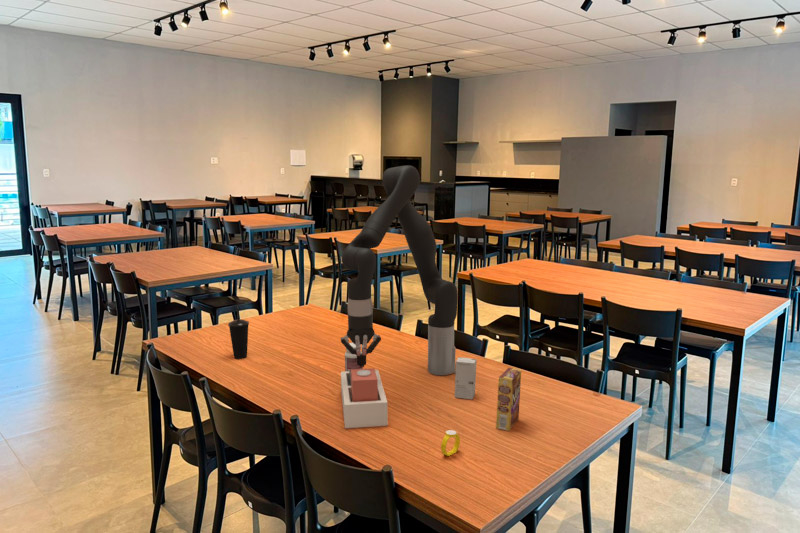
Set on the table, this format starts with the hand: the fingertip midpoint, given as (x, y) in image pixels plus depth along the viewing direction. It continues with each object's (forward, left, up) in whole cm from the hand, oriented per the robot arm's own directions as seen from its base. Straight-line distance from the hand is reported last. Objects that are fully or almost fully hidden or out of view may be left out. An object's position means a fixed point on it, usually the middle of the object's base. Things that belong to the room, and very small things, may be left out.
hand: (361, 366), depth 176 cm
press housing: (0, +6, -11) cm, 13 cm away
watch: (-20, +37, -11) cm, 43 cm away
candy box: (-40, +23, -11) cm, 47 cm away
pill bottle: (+1, -21, -11) cm, 24 cm away
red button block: (0, +12, -5) cm, 13 cm away
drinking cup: (+43, -47, -11) cm, 65 cm away
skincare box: (-33, +2, -11) cm, 35 cm away
